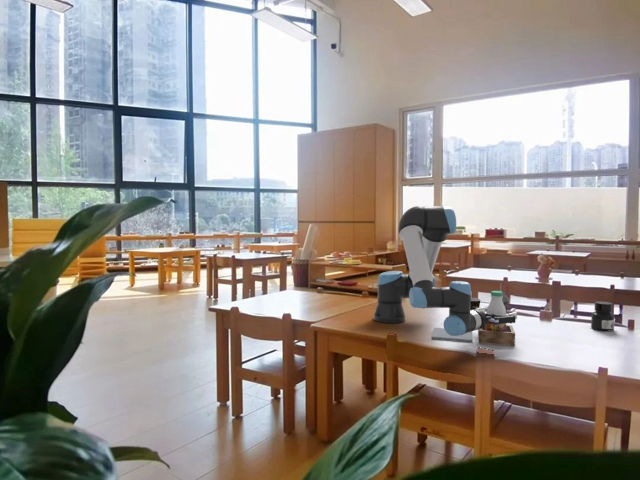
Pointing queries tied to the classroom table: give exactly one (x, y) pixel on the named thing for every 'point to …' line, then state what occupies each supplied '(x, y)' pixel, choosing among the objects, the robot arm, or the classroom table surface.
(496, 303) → the milk bottle
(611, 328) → the ink bottle
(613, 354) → the classroom table surface
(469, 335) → the mat
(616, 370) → the classroom table surface
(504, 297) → the beverage cup
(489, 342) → the caddy
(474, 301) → the coffee mug
